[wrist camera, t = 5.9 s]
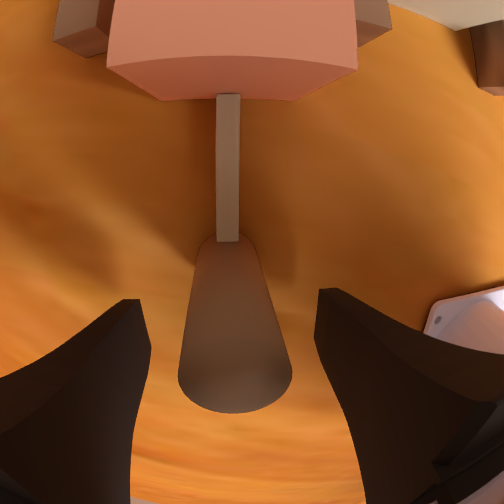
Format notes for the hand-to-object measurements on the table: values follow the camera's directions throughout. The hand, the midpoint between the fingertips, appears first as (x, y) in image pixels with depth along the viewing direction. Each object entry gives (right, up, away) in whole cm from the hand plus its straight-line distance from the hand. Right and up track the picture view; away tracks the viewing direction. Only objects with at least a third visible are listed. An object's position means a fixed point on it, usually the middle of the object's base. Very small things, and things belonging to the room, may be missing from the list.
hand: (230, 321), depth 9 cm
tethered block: (0, +6, 0) cm, 6 cm away
